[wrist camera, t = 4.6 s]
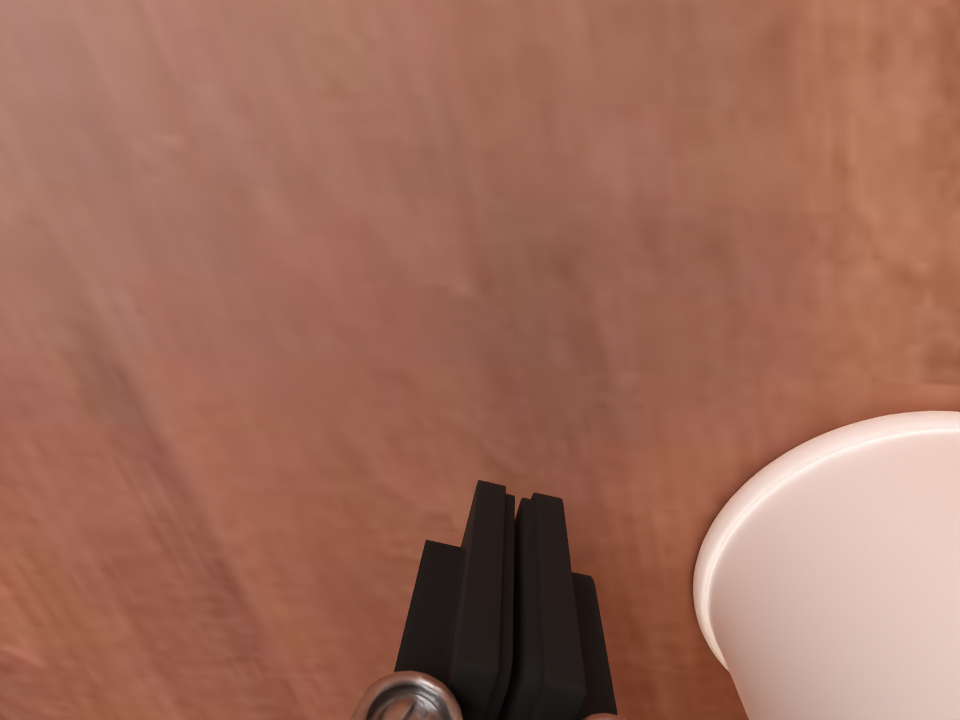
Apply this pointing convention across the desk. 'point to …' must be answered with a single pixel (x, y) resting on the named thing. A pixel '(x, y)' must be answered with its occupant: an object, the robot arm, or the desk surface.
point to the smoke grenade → (842, 576)
